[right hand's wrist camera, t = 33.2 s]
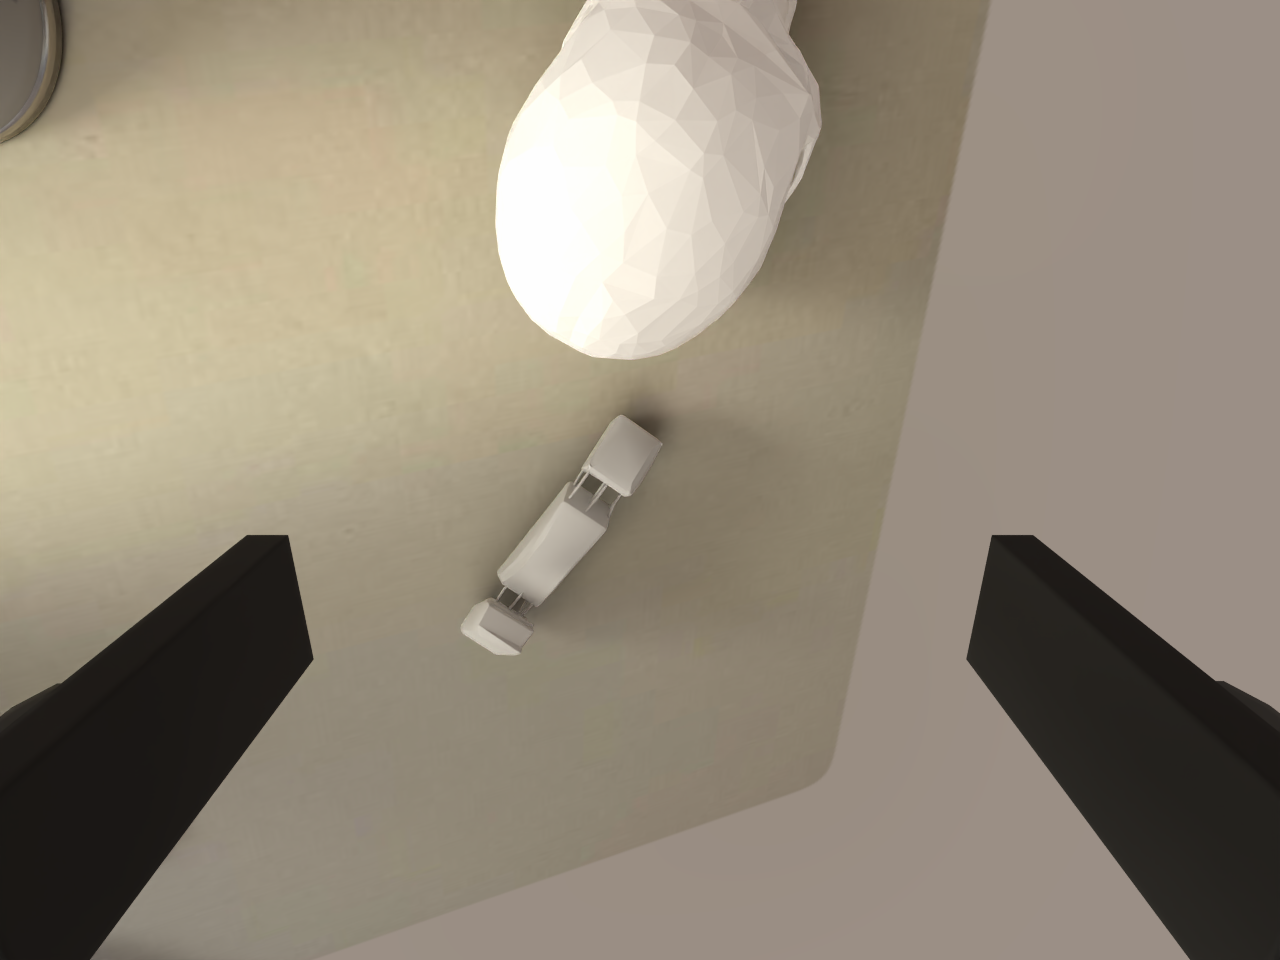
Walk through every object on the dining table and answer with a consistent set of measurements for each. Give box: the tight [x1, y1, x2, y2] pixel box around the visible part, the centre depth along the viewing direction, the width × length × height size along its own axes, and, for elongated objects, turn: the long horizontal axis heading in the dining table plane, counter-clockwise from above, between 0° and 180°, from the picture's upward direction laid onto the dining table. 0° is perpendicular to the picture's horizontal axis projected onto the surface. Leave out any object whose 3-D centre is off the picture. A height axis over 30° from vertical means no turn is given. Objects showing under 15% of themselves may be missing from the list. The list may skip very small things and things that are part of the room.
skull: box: [495, 0, 822, 360], centre depth 32 cm, size 13×22×16 cm, turn 155°
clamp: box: [461, 415, 663, 655], centre depth 46 cm, size 20×4×7 cm, turn 144°
